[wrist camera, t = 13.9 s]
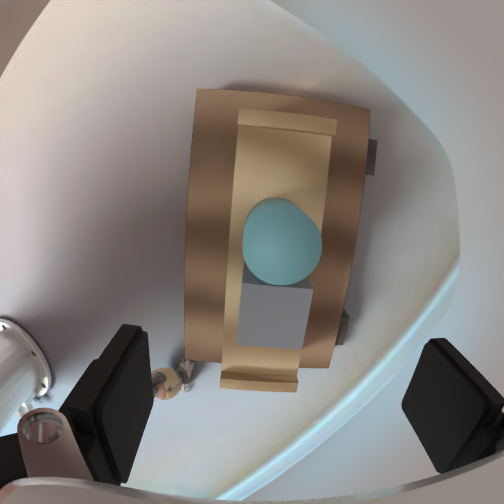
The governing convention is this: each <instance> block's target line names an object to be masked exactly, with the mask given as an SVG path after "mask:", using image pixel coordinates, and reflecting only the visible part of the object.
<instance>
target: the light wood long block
mask: <svg viewBox="0 0 504 504" xmlns="http://www.w3.org/2000/svg"><path fill="white" fill-rule="evenodd" d="M336 125H337V120H335V119H329V118H322V117H316V116H309V115H301V114H294V113H285V112H276V111H266V110H255V109H242V108H239V115H238V135H237V147H236V158H235V170H234V182H233V195H232V208H231V221H230V235H229V249H228V264H227V279H226V295H225V312H224V330H223V349H222V370H221V378H220V388H225V389H237V390H251V391H270V392H296V391H297V386H298V379H297V371H298V367H299V362H300V357H301V352H302V349H285V348H270V347H256V346H245V345H236V339H237V327H238V315H239V304H240V294H241V284H242V273H243V263H244V261H245V260H244V256H243V250H242V245H243V236H244V227H245V221H246V218H247V215H248V213H249V212H250V210H251V209H252V208H253V207H254V206H255V205H256V204H257V203H259V202H260V201H262V200H265V199H268V198H283V199H287V200H289V201H291V202H292V203H294V204H295V205H296V206H297V207H298V208H300V209H301V210H302V211H303V212H304V213H305V214H306V215H307V216H308V217H310V218H311V219H312V221H313V222H314V223H315V224H316V226H317V227H318V229H319V232H320V235H321V230H322V222H323V214H324V206H325V198H326V189H327V180H328V170H329V160H330V150H331V139H332V136H335V135H336ZM315 272H316V267H315V269H314V270H313V271H312V272H311V273H310V274H309V275H308V276H307V277H308V279H309V281H310V283H311V285H312V287H313V284H314V278H315Z"/></svg>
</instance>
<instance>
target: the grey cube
mask: <svg viewBox="0 0 504 504" xmlns="http://www.w3.org/2000/svg"><path fill="white" fill-rule="evenodd" d="M313 290H314V289H313V287H312V285H311V283H310V281H309V279H308V277H306V278H304V279H303V280H301V281H299V282H296V283H294V284H290V285H273V284H269V283H266V282H264V281H262V280H260V279H259V278H258V277H256V276H255V275H254V274H253V273H252V272H251V271H250V269H249V268H248V266H247V264H246V262H245V261H244V263H243V273H242V284H241V294H240V304H239V315H238V327H237V339H236V345H245V346H256V347H270V348H285V349H302V346H303V341H304V336H305V331H306V326H307V321H308V316H309V311H310V306H311V301H312V295H313Z"/></svg>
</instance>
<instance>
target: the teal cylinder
mask: <svg viewBox="0 0 504 504" xmlns="http://www.w3.org/2000/svg"><path fill="white" fill-rule="evenodd" d="M242 250H243V256H244V260H245V262H246V264H247V266H248V268H249V269H250V271H251V272H252V273H253V274H254V275H255V276H256V277H258V278H259V279H260V280H262V281H264V282H266V283H269V284H273V285H290V284H294V283H296V282H299V281H301V280H303V279H304V278H306V277H307V276H308V275H309V274H310V273H311V272H312V271H313V270H314V269H315V267H316V266H317V264H318V262H319V260H320V257H321V253H322V239H321V235H320V232H319V229H318V227H317V226H316V224H315V223H314V222H313V221H312V219H311V218H310V217H308V216H307V215H306V214H305V213H304V212H303V211H302V210H301V209H300V208H298V207H297V206H296V205H295V204H294V203H292V202H291V201H289V200H287V199H283V198H268V199H265V200H262V201H260V202H259V203H257V204H256V205H255V206H254V207H253V208H252V209H251V210H250V212H249V213H248V215H247V218H246V221H245V227H244V236H243V245H242Z"/></svg>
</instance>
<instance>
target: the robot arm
mask: <svg viewBox="0 0 504 504" xmlns="http://www.w3.org/2000/svg"><path fill="white" fill-rule="evenodd" d="M51 380H52V379H51V372H50V369H49V365H48V363H47V361H46V358H45V356H44V355H43V353H42V351H41V350H40V348H39V347H38V345H37V344H36V343H35V341H34V340H33V339H32V338H31V337H30V336H29V335H28V334H27V333H26V332H25V331H24V330H23V329H22V328H21V327H19V326H18V325H17V324H15V323H13V322H11V321H9V320H6V319H0V433H1V432H2V430H3V429H4V428H5V426H6V425H7V424H8V422H9V421H10V420H11V418H12V417H13V416H14V415H15V413H17V415H18V416H21V417H22V418H21V419H20V420H19V423H18V425H17V433H14V434H10V435H6V436H2V437H0V504H504V413H503V412H502V411H501V410H502V408H503V407H504V398H503V397H502V396H501V394H500V393H498V391H497V390H496V389H495V388H494V387H493V386H492V385H491V384H490V383H489V382H488V381H487V380H486V379H485V377H484V376H483V375H482V374H481V373H480V372H479V371H478V370H477V369H476V368H475V367H474V366H473V365H472V364H471V363H470V362H469V361H468V360H467V359H466V358H465V357H464V356H463V355H462V354H461V353H460V352H459V351H458V350H457V349H456V348H455V347H454V346H453V345H452V344H451V343H450V342H449V341H448V340H447V339H445V338H434V339H430V340H429V341H428V343H426V344H425V346H424V348H423V350H422V353H421V356H420V359H419V361H418V364H417V366H416V369H415V372H414V374H413V377H412V379H411V381H410V384H409V386H408V389H407V391H406V393H405V396H404V398H403V400H402V410H403V412H404V413H405V415H406V417H407V418H408V420H409V422H410V424H411V425H412V427H413V429H414V431H415V432H416V434H417V436H418V438H419V440H420V441H421V443H422V445H423V447H424V449H425V450H426V452H427V454H428V456H429V458H430V460H431V462H432V463H433V465H434V467H435V469H436V471H437V472H438V473H441V474H439V475H436V476H433V477H430V478H426V479H423V480H419V481H415V482H412V483H408V484H404V485H400V486H395V487H391V488H387V489H382V490H377V491H371V492H366V493H360V494H354V495H347V496H340V497H332V498H322V499H311V500H296V501H270V502H269V501H268V502H266V501H265V502H264V501H262V502H261V501H260V502H259V501H228V500H214V499H202V498H192V497H183V496H176V495H168V494H162V493H156V492H150V491H145V490H139V489H133V488H128V487H122V486H120V485H121V483H127V481H128V478H129V475H130V472H131V469H132V466H133V463H134V460H135V456H136V453H137V450H138V447H139V444H140V441H141V438H142V435H143V432H144V430H145V427H146V424H147V421H148V418H149V415H150V412H151V409H152V406H153V401H154V395H153V387H152V377H151V368H150V357H149V345H148V334H147V332H145V331H142V328H141V326H135V325H128V324H123V325H122V326H121V327H120V329H119V330H118V332H117V333H116V334H115V336H114V337H113V339H112V340H111V341H110V343H109V344H108V346H107V347H106V348H105V350H104V351H103V353H102V354H101V356H100V357H99V358H98V359H95V360H93V361H92V362H91V364H90V365H89V366H88V368H87V369H86V371H85V372H84V374H83V375H82V376H81V378H80V379H79V381H78V382H77V384H76V385H75V387H74V388H73V390H72V391H71V392H70V394H69V395H68V397H67V398H66V400H65V401H64V403H63V404H62V406H61V407H60V409H59V410H58V411H57V410H54V409H51V408H37V409H33V406H32V404H31V403H30V402H31V400H32V399H33V398H34V397H35V396H36V397H39V396H42V395H44V394H45V393H46V392H47V391H48V390H49V388H50V386H51Z"/></svg>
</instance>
